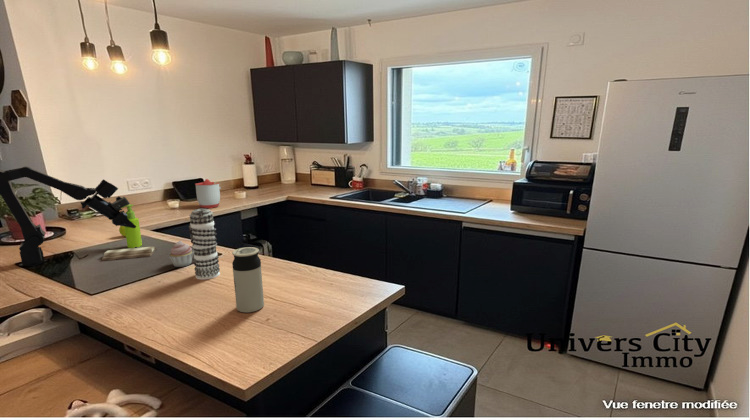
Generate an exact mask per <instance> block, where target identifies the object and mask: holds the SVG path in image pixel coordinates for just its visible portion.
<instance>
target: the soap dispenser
mask: <svg viewBox="0 0 750 420" xmlns="http://www.w3.org/2000/svg"><path fill="white" fill-rule="evenodd" d="M132 207H134V204H132V203H130V204H129V205H126V206H124V207H121V209H123V208H127V211H126V212H125V213H126V214H127V217H128V219H129V220H130V221H131V222H132V223H133V224H134V225H135V226H136V228H130V227H125V233H126V237H125V239H126V246H127V249H130V248H135V247H137V248H141V247H143V240H142V235H141V234H142V233H141V226H140V221H139V218H138V217H136V214H135V211H134V210H133V209H132Z"/></svg>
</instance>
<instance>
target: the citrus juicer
mask: <svg viewBox="0 0 750 420" xmlns="http://www.w3.org/2000/svg"><path fill="white" fill-rule="evenodd" d="M194 185H195V193H196V199H197V202H198V205H199V207H200V209H211V208H217V207H219V205H220V202H221V191H220V190H221V189H222V187H221V186H220V182H217V183H215V182H214V181H210V180H209V179H208V178H206V179H205V180H204V181H202V182H198V183H197V182H196V183H194Z"/></svg>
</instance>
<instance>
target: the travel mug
mask: <svg viewBox="0 0 750 420" xmlns="http://www.w3.org/2000/svg"><path fill="white" fill-rule="evenodd" d="M259 251H260V249H259V248H258V247H252V246H251V247H250V246H249V247H248V246H247V247H239V248H237V249H234V250H233V251H232V252H231V254H232V256H233V260H232V263H231V264H232V273H233V274H232V276H233V285H234V294H235V295H234V297H235V306H236V310H237V311H238V312H241V313H245V314H246V313H253V312H256V311H259V310H261V309H262V308H263V307H264V306H265V301H264V299H265V298H264V286H263V273H262V262H261V258H260V256H259Z"/></svg>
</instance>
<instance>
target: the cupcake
mask: <svg viewBox="0 0 750 420" xmlns="http://www.w3.org/2000/svg"><path fill="white" fill-rule="evenodd" d="M168 257H169V258H170V260H171V262H172V264H173V266H174V267H176V268H184V267H188V266H191V264H192V259H193V257H194V250H193V247H192V246H190V245H189V244H188V243H184V242H183V241H182V240H179V241H176V243H174V244H173V247H172V248H171V249H170V253H169V254H168Z"/></svg>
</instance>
